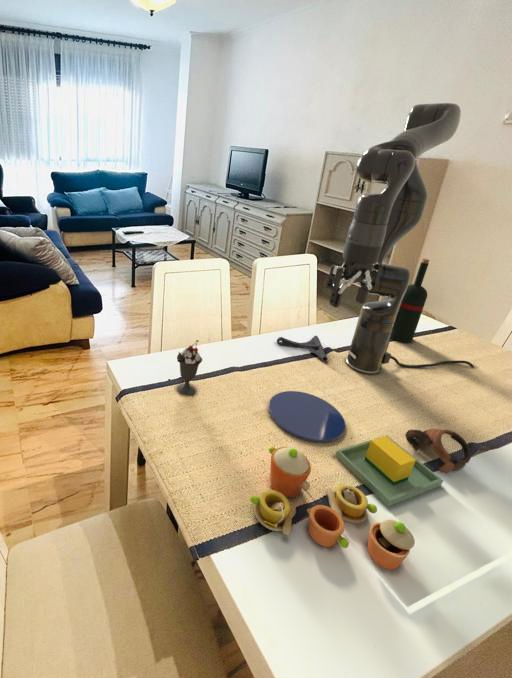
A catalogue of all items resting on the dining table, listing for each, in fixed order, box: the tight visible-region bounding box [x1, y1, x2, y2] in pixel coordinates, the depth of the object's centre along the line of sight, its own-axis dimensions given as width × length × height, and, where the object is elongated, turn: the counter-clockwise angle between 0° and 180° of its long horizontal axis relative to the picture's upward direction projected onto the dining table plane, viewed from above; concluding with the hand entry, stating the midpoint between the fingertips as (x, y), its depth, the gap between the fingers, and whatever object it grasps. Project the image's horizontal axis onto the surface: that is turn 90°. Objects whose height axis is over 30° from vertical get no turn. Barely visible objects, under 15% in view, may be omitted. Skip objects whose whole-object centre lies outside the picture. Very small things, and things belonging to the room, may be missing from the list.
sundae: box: [176, 339, 203, 397], centre depth 102 cm, size 7×7×15 cm
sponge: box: [364, 435, 416, 485], centre depth 81 cm, size 4×7×6 cm, turn 21°
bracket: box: [276, 335, 329, 362], centre depth 129 cm, size 14×15×3 cm
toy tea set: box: [250, 446, 416, 571], centre depth 70 cm, size 26×16×10 cm, turn 67°
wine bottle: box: [389, 258, 430, 344], centre depth 135 cm, size 8×10×30 cm
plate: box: [268, 390, 346, 444], centre depth 96 cm, size 18×18×1 cm
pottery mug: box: [404, 427, 472, 473], centre depth 86 cm, size 12×10×8 cm
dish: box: [334, 434, 444, 508], centre depth 82 cm, size 15×13×2 cm
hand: (347, 304), depth 95 cm, fingers open, 8 cm apart
